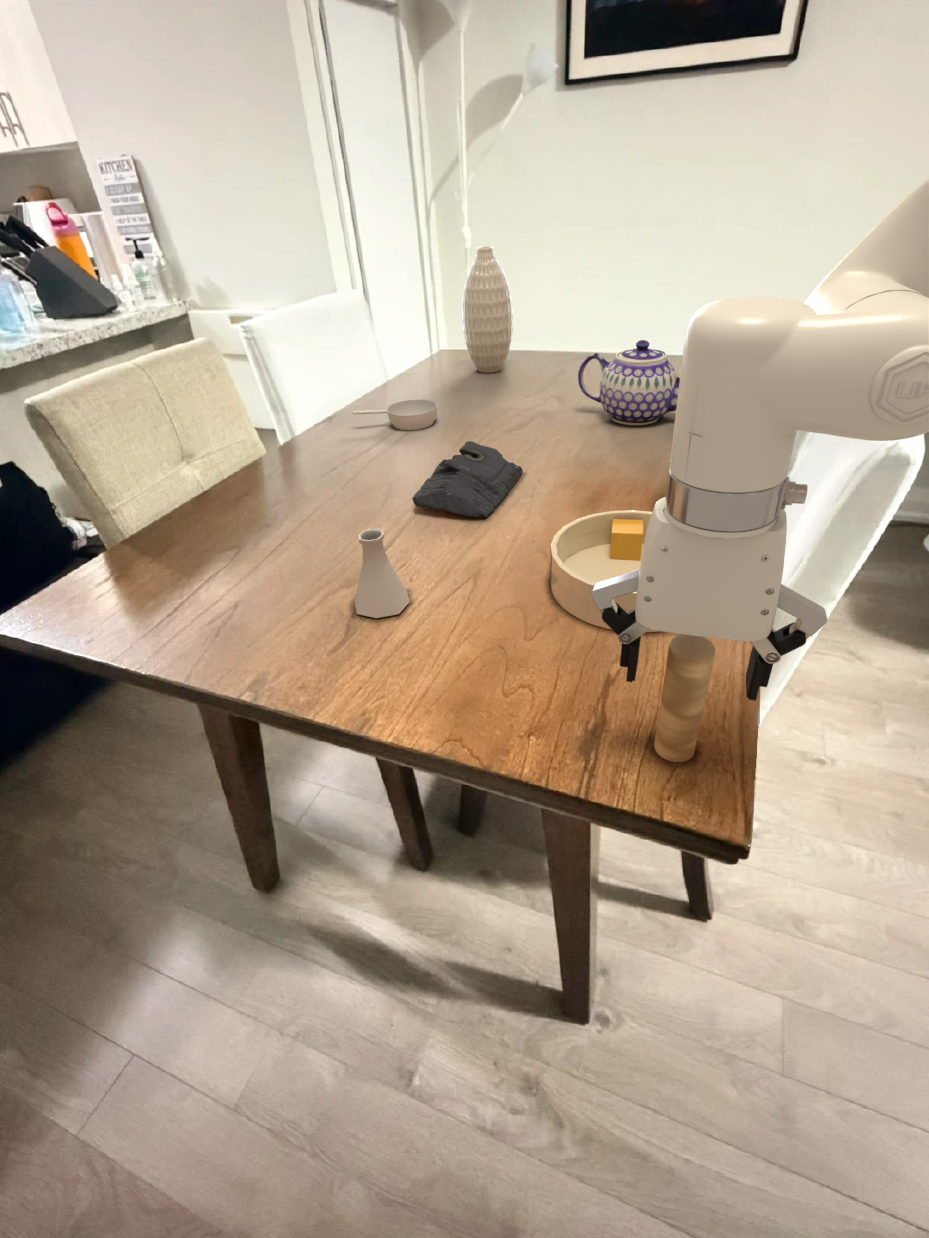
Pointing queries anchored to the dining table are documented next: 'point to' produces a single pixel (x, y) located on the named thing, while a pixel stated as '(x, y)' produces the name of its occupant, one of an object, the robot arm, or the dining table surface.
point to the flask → (378, 580)
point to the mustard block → (626, 539)
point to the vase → (487, 312)
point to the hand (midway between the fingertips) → (689, 680)
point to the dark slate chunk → (469, 482)
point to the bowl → (590, 563)
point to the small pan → (408, 414)
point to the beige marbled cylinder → (683, 696)
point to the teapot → (635, 385)
